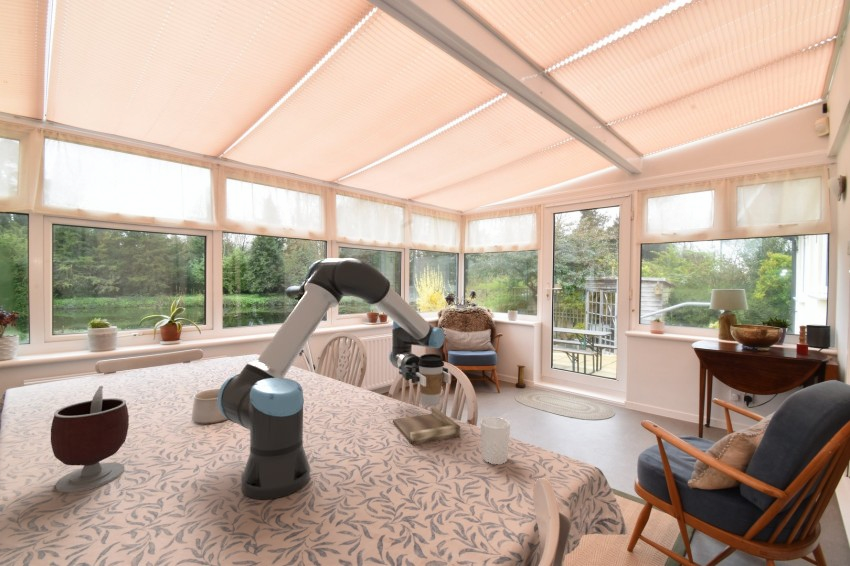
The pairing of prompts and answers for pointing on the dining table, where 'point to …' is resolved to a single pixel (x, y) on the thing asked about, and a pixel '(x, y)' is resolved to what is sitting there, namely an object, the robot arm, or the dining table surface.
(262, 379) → the robot arm
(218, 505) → the dining table surface
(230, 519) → the dining table surface
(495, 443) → the white cup
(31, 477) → the dining table surface
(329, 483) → the dining table surface
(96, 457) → the mate gourd
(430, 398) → the coffee cup
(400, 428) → the wooden tray
